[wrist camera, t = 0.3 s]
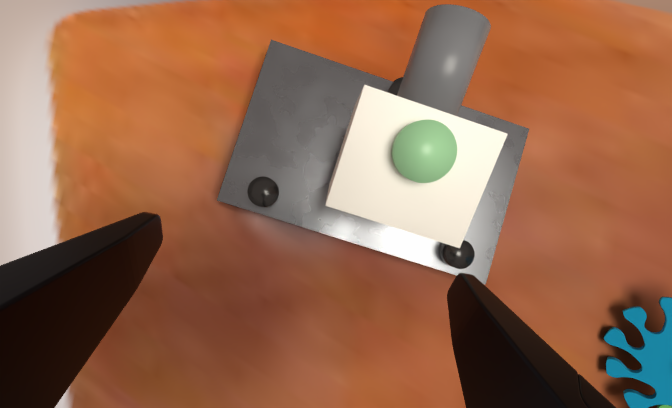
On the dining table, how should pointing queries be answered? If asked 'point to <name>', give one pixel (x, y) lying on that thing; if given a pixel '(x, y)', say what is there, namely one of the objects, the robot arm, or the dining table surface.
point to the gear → (646, 358)
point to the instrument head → (421, 138)
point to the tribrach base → (322, 153)
